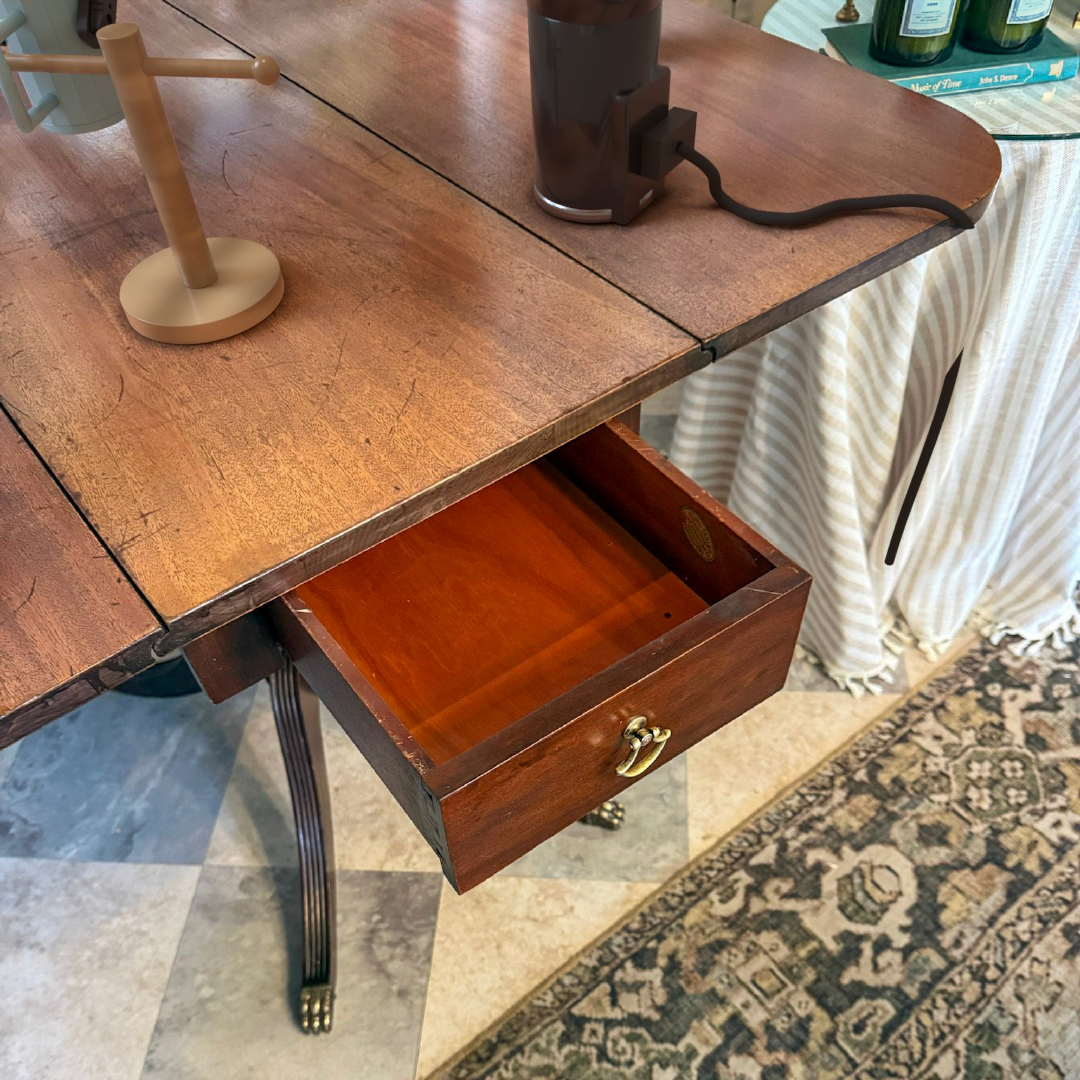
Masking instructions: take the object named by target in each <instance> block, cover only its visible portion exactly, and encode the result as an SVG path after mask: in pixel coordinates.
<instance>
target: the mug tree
mask: <svg viewBox="0 0 1080 1080" xmlns="http://www.w3.org/2000/svg"><path fill="white" fill-rule="evenodd" d="M141 33H142V32H141V30H140V27H139V26H138V25H137V24H135V23H133V22H116V24H111V25H108V26H105V27H103V28H101V29H99V30H98V31H97V33H96V36H97V39H98V42H99V45H100V48H101V51H102V54H103V56H90V55H55V54H20V53H10V52H7V51H6V50H4V49H3V48H1V50H2V52H3V55H4V57H5V59H6V62H7V64H8V66H9V69H10V71H11V73H12V72H13V73H18V72H39V73H71V74H104V75H110V76H111V79H112V82H113V85H114V88H115V91H116V94H117V96H118V99H119V102H120V105H121V108H122V111H123V114H124V116H125V119H124V120H125V122H126V125H127V128H128V131H129V133H130V137H131V139H132V142H133V144H134V148H135V151H136V153H137V156H138V159H139V162H140V164H141V168H142V171H143V173H144V176H145V179H146V182H147V185H148V187H149V191H150V193H151V197H152V199H153V202H154V205H155V208H156V210H157V213H158V216H159V219H160V222H161V224H162V228H163V229H164V230H163V231H164V233H165V236H166V239H167V242H168V244H169V247H166V248H164V249H161V250H159V251H157V252H155V253H153V254H150V255H149V256H148V257H146V258H145V259H143V260H142V261H140V262H139V263H138V264H136V265H135V266H134V267H133V268H132V269H131V270H130V271H129V272H128V273H127V274H126V276H125V277H124V279H123V280H122V283H121V285H120V289H119V300H120V304H121V306H122V309H123V311H124V314H125V316H126V319H127V321H128V323H129V325H130V326H131V327H132V329H133V330H135V332H137V333H139V335H141V336H143V337H145V338H147V339H150V340H152V341H156V342H159V343H162V344H163V343H164V344H170V345H198V344H205V343H211V342H216V341H219V340H224V339H227V338H230V337H233V336H235V335H238V334H241V333H242V332H245V331H247V330H249V329H251V328H253V327H254V326H256V325H258V324H260V323H261V322H263V321H264V320H265V319H266V318H268V317H269V316H270V315H271V314H272V313H273V312H274V311H275V310H276V308H277V307H278V306H279V304H280V303H281V301H282V299H283V297H284V293H285V279H284V277H283V273H282V268H281V265H280V261H279V259H278V258H277V256H276V255H275V254H274V252H273V251H271V250H270V249H269V248H268V247H267V246H265V245H262V244H260V243H258V242H255V241H253V240H249V239H246V238H245V239H244V238H240V237H230V236H229V237H228V236H227V237H225V236H223V237H222V236H217V237H215V236H214V237H206V234H205V231H204V228H203V225H202V222H201V219H200V215H199V213H198V209H197V206H196V203H195V200H194V196H193V194H192V193H193V192H192V190H191V187H190V183H189V181H188V178H187V174H186V171H185V169H184V165H183V162H182V158H181V156H180V152H179V149H178V146H177V144H176V140H175V137H174V134H173V131H172V127H171V124H170V121H169V118H168V115H167V111H166V109H165V105H164V102H163V99H162V95H161V93H160V90H159V88H158V83H157V80H156V77H168V78H169V77H170V78H171V77H172V78H178V77H179V78H202V79H203V78H205V79H232V80H233V79H236V80H255V81H256V82H258V83H259V84H260V85H263V86H272V85H275V84H276V82H277V81H278V80H279V78H280V76H281V67H280V64H279V62H278V61H277V60H276V59H275V58H274V57H273V56H271V55H269V54H260V55H258V56H256V57H255V58H254V59H232V58H231V59H229V58H227V59H225V58H193V57H188V58H187V57H161V56H160V57H157V56H156V57H155V56H148V51H147V49H146V46H145V42H144V40H143V36H142V34H141Z"/></svg>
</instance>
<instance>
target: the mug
mask: <svg viewBox="0 0 1080 1080" xmlns="http://www.w3.org/2000/svg"><path fill="white" fill-rule="evenodd" d="M77 13H78V0H0V43H2V42H3V41H4V40H5V42H6V45H7V46H6V47H7V49H8V53H20V54H55V55H90V56H103V54H102V51H101V49H93V48H92V47H91V46H89V45H88V44H87V43H85V42H84V41H83V40H81V39H80V37H79V36H78V33H77ZM1 49H2V48H1V47H0V91H1V93H2V95H3V97H4V99H5V102H6V104H7V106H8V109H9V111H10V113H11V116H12V118H13V120H14V123H15V124H16V127H17V129H18V130H19V131H20V132H21V133H23V134H31V132H33V131H34V130H35V129H36V128H37V127H38V126H39V125H40V126H41V127H42V128H43V129H44V130H45V131H47V132H49V133H52V134H57V135H66V136H67V135H69V136H70V135H82V134H89V133H94V132H98V131H102V130H105V129H107V128H110V127H112V126H115V125H117V124H119V123H120V122H122V121H124V120H126V119H125V116H124V114H123V111H122V108H121V105H120V102H119V99H118V96H117V94H116V91H115V88H114V85H113V82H112V79H111V76H110V75H104V74H71V73H39V72H17V73H18V75H19V78H20V80H21V82H22V85H23V87H24V90H25V91H26V94H27V97H28V99H29V102H30V104H31V108H29V109H27V106H26V104H25V102H24V99H23V97H22V95H21V93H20V90H19V88H18V85H17V82H16V80H15V78H14V75H13V74H12V72H11V71H10V69H9V66H8V64H7V62H6V59H5V57H4V55H3V52H2V50H1Z"/></svg>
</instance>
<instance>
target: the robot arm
mask: <svg viewBox="0 0 1080 1080" xmlns="http://www.w3.org/2000/svg"><path fill="white" fill-rule="evenodd" d="M117 9H118V0H78V13H77V33H78V36H79V37H80V39H81V40H83V41H84V42H85V43H87V44H88V45H89V46H91V47H92V48H93V49H101V48H100V45H99V42H98V39H97V36H96V33H97V31H98V30H99V29H101V28H103V27H105V26H108V25H111V24H116V23H117V13H118V12H117ZM526 10H527V12H526V13H527V14H526V15H527V32H528V35H527V36H528V55H529V58H528V59H529V78H530V79H529V81H530V102H531V104H530V105H531V125H532V126H531V127H532V147H533V163H534V168H533V169H534V178H533V191H534V192H533V193H534V194H533V195H534V198H535V202H536V203H537V204H538V206H539V207H540V208H541V209H543V210H544V212H547V213H548V214H550V215H552V216H555V217H556V218H559V219H563V220H566V221H570V222H576V223H577V222H578V223H587V224H588V223H589V224H591V223H593V224H594V223H596V224H597V223H616V224H619V225H622V226H623V225H624V226H625V225H627V224H628V223H629V222H630V221H632V220H633V219H634V218H635V217H636V216H637V215H638V214H639V213H641V212H642V211H643V210H645V209H646V208H647V207H648V206H649V205H650V204H651V203H652V202H653V201H654V200H655V199H657V198H658V197H659V196H660V195H661V194H662V193H663V192H664V191H665V187H666V185H665V183H666V177H667V176H668V175H669V174H670V173H671V172H672V171H673V170H674V169H676V168H677V167H678V166H679V165H680V164H681V163H682V162H684V161H685V160H686V161H687V162H689V163H691V164H692V165H693V166H695V167H696V168H698V169H699V170H700V171H701V172H702V173H703V174H704V175H705V176H706V178H707V181H708V189H709V190H708V191H709V193H710V196H711V198H712V199H713V200H714V201H715V202H716V203H717V204H718V205H719V206H721V207H722V208H723V209H724V210H726V211H728V212H729V213H731V214H733V215H735V216H736V217H739V218H741V219H743V220H746V221H749V222H751V223H755V224H761V225H773V226H787V227H788V226H789V227H790V226H800V225H804V224H809V223H812V222H815V221H817V220H820V219H823V218H826V217H829V216H831V215H835V214H838V213H844V212H855V211H869V210H871V211H872V210H881V209H892V208H893V209H894V208H920V209H927V210H929V211H930V210H931V211H934V212H937V213H939V214H942V215H944V216H946V217H947V218H949V219H950V220H951V221H953V222H954V223H955V224H956V226H957V227H959V228H961V229H962V230H967V231H968V230H974V229H975V228H976V226H975V223H974V222H973V221H972V219H971V218H970V216H969V215H968V214H967V213H966V212H965V211H964V210H963V209H961V208H960V207H958V205H956V204H954V203H952V202H950V201H949V200H946V199H944V198H941V197H938V196H933V195H929V194H921V193H897V194H896V193H895V194H885V195H875V196H864V197H862V196H861V197H849V198H840V199H835V200H831V201H827V202H824V203H822V204H819V205H816V206H814V207H810V208H808V209H804V210H801V211H794V212H785V211H784V212H782V211H769V210H762V209H755V208H752V207H748V206H745V205H743V204H741V203H739V202H738V201H736V200H735V199H734V198H732V197H731V195H728V194H727V193H726V192H725V190H724V189H723V188H722V178H721V174H720V172H719V169H718V168H717V167H716V165H715V164H714V163H713V162H711V160H709V158H707V157H706V156H705V155H703V154H702V153H700V152H699V151H697V150H696V149H695V148H696V135H697V134H696V133H697V132H696V131H697V121H698V112H697V111H694V110H691V109H686V108H682V107H678V106H672V107H671V108H670V98H671V97H670V96H671V95H670V94H671V79H672V78H671V77H672V72H671V71H672V70H671V68H670V67H669V66H668V65H664V64H661V63H660V61H661V40H662V21H663V0H526ZM0 47H7V45H6V42H5V40H4V41H3V42H2V43H0ZM964 348H965V346H963V347H962V349H961V351H960V352H959V353H958V355H957V357H956V358H955V360H954V361H953V363H951V366H950V367H949V369H948V370H947V373H946V374H945V376H944V380H943V382H942V386H941V391H940V394H939V396H938V397H939V398H938V400H937V404H936V408H935V410H934V413H933V417H932V420H931V423H930V426H929V429H928V431H927V435H926V438H925V441H924V443H923V445H922V449H921V452H920V456H919V457H918V460H917V463H916V466H915V468H914V471H913V474H912V477H911V480H910V481H909V485H908V487H907V491H906V493H905V496H904V499H903V501H902V504H901V508H900V510H899V512H898V516H897V519H896V521H895V525H894V528H893V531H892V534H891V538H890V541H889V544H888V547H887V551H886V554H885V558H884V565H886V566H893V565H894V563H895V561H896V557H897V554H898V550H899V548H900V545H901V542H902V538H903V535H904V531H905V530H906V526H907V523H908V520H909V517H910V516H911V513H912V509H913V507H914V504H915V501H916V498H917V496H918V493H919V490H920V487H921V485H922V482H923V480H924V476H925V475H926V471H927V468H928V466H929V463H930V461H931V458H932V455H933V454H934V453H933V452H934V451H935V448H936V446H937V445H936V444H937V442H938V439H939V437H940V433H941V430H942V428H943V425H944V422H945V419H946V416H947V413H948V409H949V406H950V403H951V400H952V397H953V393H954V390H955V386H956V383H957V380H958V375H959V372H960V367H961V363H962V360H963V359H962V358H963V354H964Z"/></svg>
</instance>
